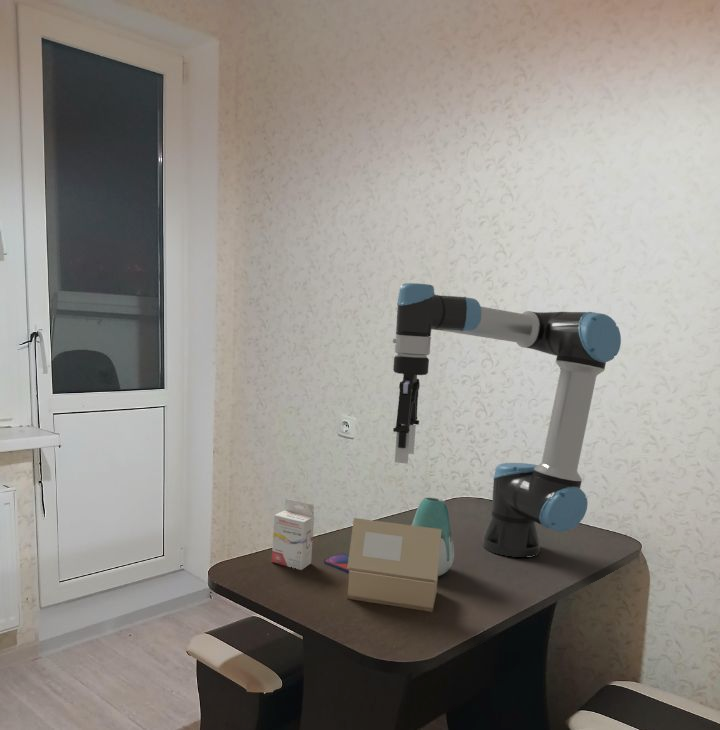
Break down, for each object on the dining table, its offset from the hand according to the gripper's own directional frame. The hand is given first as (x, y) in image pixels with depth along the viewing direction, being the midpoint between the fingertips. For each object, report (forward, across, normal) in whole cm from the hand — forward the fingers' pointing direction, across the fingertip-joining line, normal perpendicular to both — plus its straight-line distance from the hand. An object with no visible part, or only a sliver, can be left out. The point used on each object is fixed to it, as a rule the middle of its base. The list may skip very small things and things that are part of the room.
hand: (404, 457), depth 138 cm
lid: (+18, +6, 0) cm, 19 cm away
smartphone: (+30, -8, -11) cm, 33 cm away
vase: (+30, -12, +6) cm, 33 cm away
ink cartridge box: (+30, -5, -26) cm, 40 cm away
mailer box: (+30, +4, 0) cm, 30 cm away
